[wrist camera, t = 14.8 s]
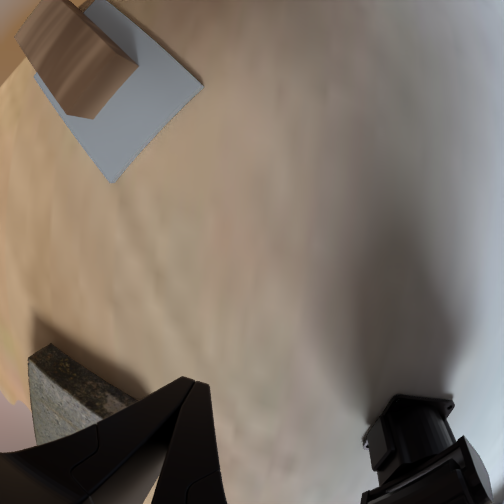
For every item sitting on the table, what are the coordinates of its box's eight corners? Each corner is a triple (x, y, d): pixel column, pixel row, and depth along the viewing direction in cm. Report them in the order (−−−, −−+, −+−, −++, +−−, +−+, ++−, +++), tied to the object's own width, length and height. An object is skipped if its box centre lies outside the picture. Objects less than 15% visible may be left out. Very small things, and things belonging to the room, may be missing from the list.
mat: (204, 86, 18) (201, 84, 17) (114, 182, 20) (109, 183, 19) (103, -2, 16) (99, -5, 16) (37, 78, 19) (33, 76, 18)
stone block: (165, 410, 25) (143, 447, 20) (134, 485, 30) (120, 510, 26) (51, 335, 26) (19, 358, 21) (52, 432, 31) (34, 453, 26)
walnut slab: (116, 53, 14) (50, -10, 13) (66, 114, 16) (13, 37, 15) (139, 66, 17) (70, 1, 16) (93, 119, 19) (35, 44, 18)
